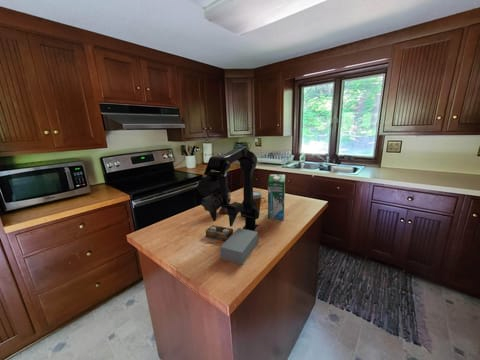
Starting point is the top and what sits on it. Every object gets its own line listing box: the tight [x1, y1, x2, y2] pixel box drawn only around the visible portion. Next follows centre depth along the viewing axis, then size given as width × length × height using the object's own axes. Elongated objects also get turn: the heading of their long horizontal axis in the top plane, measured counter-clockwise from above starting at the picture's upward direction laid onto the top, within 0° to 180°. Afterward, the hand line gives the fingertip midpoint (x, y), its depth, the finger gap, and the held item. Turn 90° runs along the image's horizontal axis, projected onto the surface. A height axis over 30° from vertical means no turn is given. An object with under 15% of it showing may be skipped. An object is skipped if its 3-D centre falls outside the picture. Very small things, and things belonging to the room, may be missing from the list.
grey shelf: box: [219, 227, 259, 266], centre depth 90 cm, size 17×10×6 cm, turn 155°
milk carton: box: [267, 173, 286, 221], centre depth 121 cm, size 9×9×25 cm
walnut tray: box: [205, 224, 234, 242], centre depth 103 cm, size 12×6×4 cm, turn 65°
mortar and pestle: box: [218, 191, 232, 215], centre depth 129 cm, size 12×9×20 cm
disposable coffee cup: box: [253, 190, 263, 212], centre depth 131 cm, size 10×10×12 cm
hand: (222, 223), depth 86 cm, fingers open, 9 cm apart
